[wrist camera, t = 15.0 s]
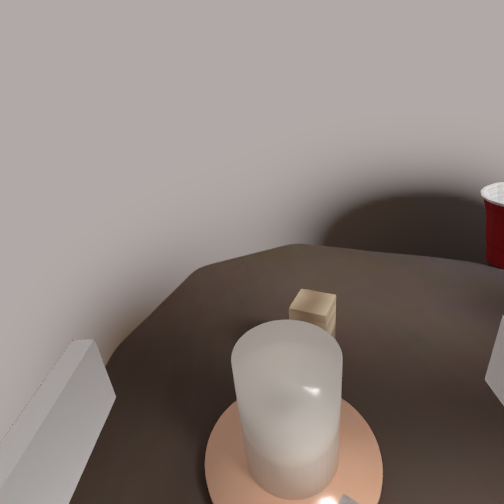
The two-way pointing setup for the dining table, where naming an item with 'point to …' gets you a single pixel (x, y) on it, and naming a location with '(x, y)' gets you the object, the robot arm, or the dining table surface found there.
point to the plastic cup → (494, 223)
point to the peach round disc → (258, 500)
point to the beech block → (315, 309)
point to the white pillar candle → (289, 406)
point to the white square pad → (347, 500)
